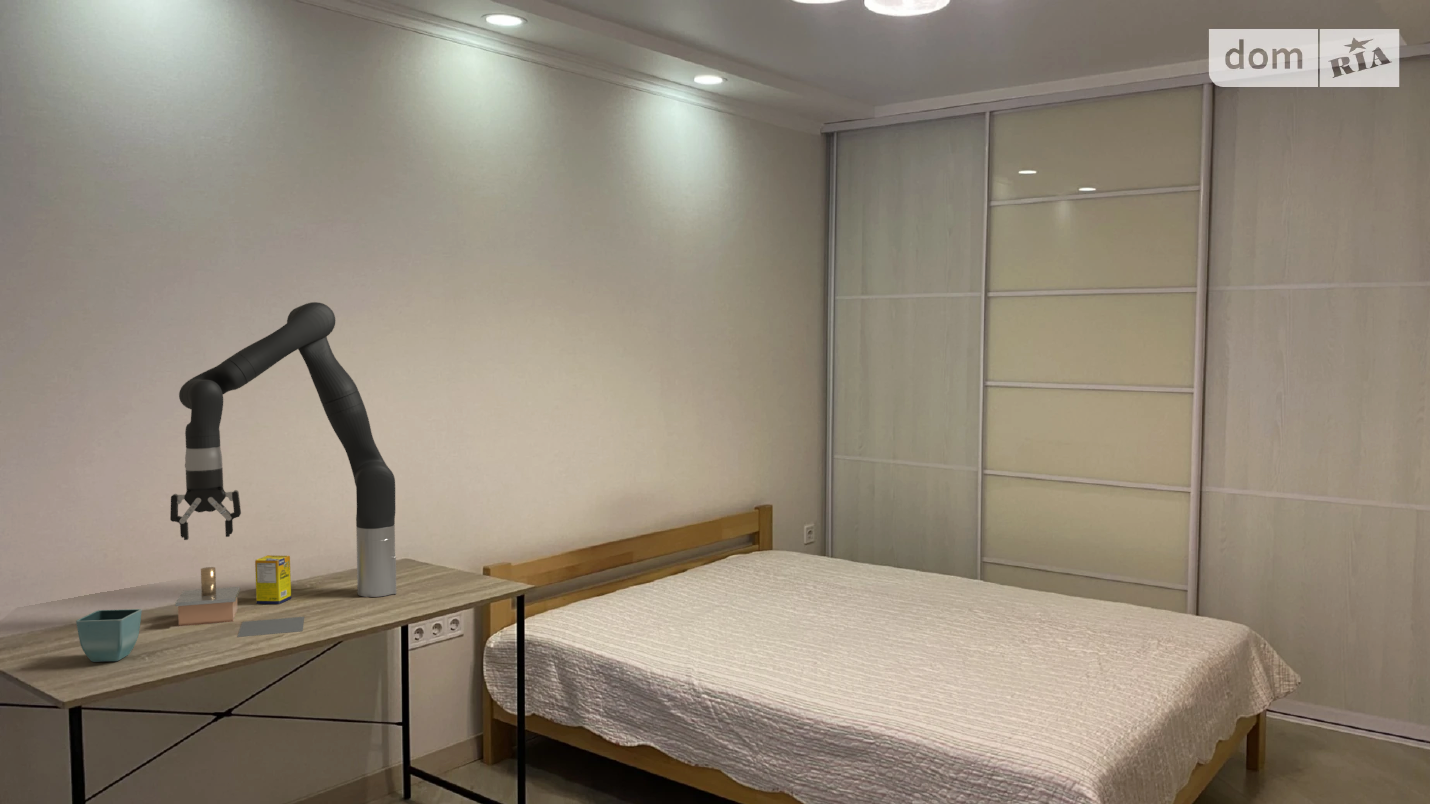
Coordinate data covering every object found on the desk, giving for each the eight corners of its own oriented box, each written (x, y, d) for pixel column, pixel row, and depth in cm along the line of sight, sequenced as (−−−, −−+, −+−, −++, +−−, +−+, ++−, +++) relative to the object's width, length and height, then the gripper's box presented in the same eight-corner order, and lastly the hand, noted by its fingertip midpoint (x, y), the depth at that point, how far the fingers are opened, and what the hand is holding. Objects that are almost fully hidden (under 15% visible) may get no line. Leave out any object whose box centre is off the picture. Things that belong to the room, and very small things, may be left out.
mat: (304, 618, 237) (304, 616, 237) (302, 632, 224) (302, 631, 224) (242, 623, 232) (242, 621, 232) (237, 638, 220) (237, 636, 220)
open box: (237, 611, 243) (237, 590, 242) (233, 623, 232) (232, 601, 232) (185, 615, 239) (185, 594, 239) (178, 627, 229) (178, 605, 228)
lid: (240, 589, 243) (239, 561, 243) (235, 601, 232) (234, 571, 231) (183, 594, 239) (182, 565, 239) (175, 606, 228) (174, 575, 227)
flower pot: (99, 652, 210) (97, 609, 210) (144, 651, 211) (142, 608, 210) (76, 666, 201) (74, 620, 201) (123, 664, 202) (121, 619, 202)
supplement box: (291, 598, 255) (290, 555, 254) (279, 604, 249) (278, 560, 248) (268, 598, 256) (267, 554, 255) (255, 604, 250) (254, 559, 249)
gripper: (239, 463, 240) (242, 532, 240) (171, 467, 235) (174, 537, 236) (237, 467, 232) (240, 538, 233) (166, 470, 228) (169, 543, 228)
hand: (207, 537), depth 234 cm, fingers open, 8 cm apart
